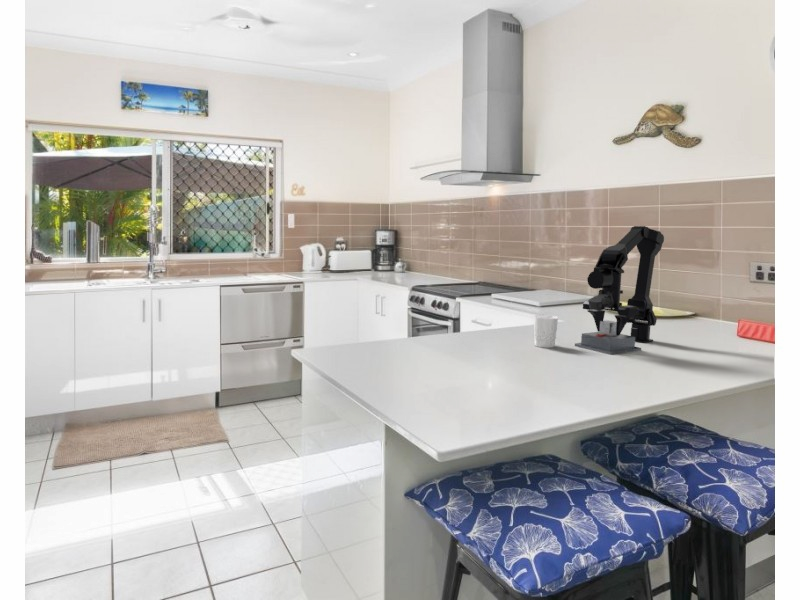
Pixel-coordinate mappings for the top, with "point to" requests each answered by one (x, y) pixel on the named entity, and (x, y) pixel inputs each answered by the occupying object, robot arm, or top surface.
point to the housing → (608, 343)
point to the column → (608, 328)
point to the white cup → (545, 330)
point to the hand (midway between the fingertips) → (608, 333)
